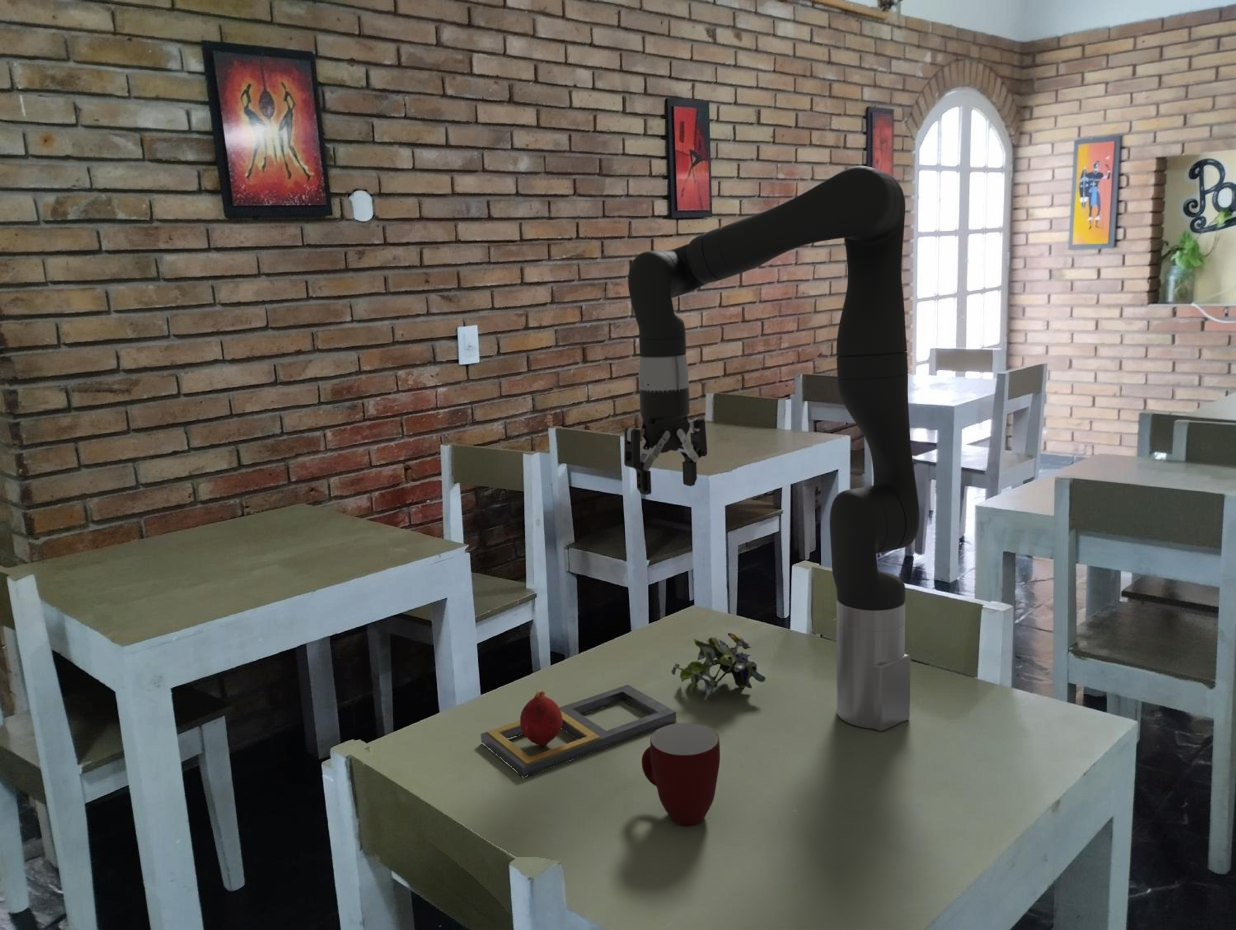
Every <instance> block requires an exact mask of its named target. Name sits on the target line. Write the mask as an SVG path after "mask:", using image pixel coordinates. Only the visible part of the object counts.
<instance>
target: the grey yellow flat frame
mask: <svg viewBox="0 0 1236 930" xmlns="http://www.w3.org/2000/svg"><path fill="white" fill-rule="evenodd" d="M621 702H624V703H626V704H628V705H629V706H632V707H633V708H635V709H637V710H639V711H640V712H642V713H643V714H645V715H646V716H644V717H641V718H638V719H635V720H633V721H630V722H627V723H625V724H622V725H619V726H616V727H613V728H611V729H608V730H605V728H602V727H601V726H600V725H598V724H596V723H595V722H593V721H592V720H590V719H588V718H587V716H584V715H585V713H586V714H588V712H589V713H591V712H590V711H592V712H594V710H595V711H598V710H600V708H601V709H603V708H602V707H604V708H606V707H609V706H612V705H615V704H618V703H621ZM558 707H559V706H558ZM559 709H560V711H561V714H562V719H563V723H562V727H561V728H562V729H563V731H564V730H565V731H567V732H568V733H569V734H568V733H567V732H566V733H567V734H568V735H570V736H571V735H572V736H571V737H573V736H574V737H573V739H574V738H576V739H575V740H574V741H573V740H572V741H571V742H568V743H565V744H563V745H559V746H558V747H555V748H551V749H549V750H546V751H542V752H540V753H538V754H534V755H532V756H530V755H529V754H528V753H526V752H525V751H524V750H522V749H521V748H520V747H518V746H517V745H516V744H515V743H513V742H512V741H510V740H508V739H507V738H511V737H514V736H519V735H521V734H523V732H522V730H521V726H520V720H517V721H514V722H511V723H508V724H505V725H503V726H499V727H497V728H493V729H490V730H487V731H485V732H482V733H480V741H481V742H482V743H484V744H485V745H486V746H487V747H488V748H490V749H491V750H492V751H493V752H494V753H495V754H497V755H498V756H499V757H501V758H502V759H503V760H504V761H505V762H507V763H508V764H509V765H510V766H512V768H514V769H515V770H516V771H517V772H518V773H519V774H520V775H522V776H523V777H525V776H527V775H531V774H534V773H536V774H538V773H537V772H539V773H541V772H540V771H542V772H544V771H546V770H545V769H547V770H549V769H548V768H550V767H553V766H555V767H557V766H556V765H558V766H560V765H559V764H561V763H563V764H565V763H564V762H566V761H569V760H571V761H573V760H572V759H574V760H576V759H575V758H577V757H579V758H581V757H580V756H582V757H584V756H583V755H585V756H587V755H589V754H588V753H590V754H592V753H591V752H593V753H595V752H594V751H596V752H597V750H598V751H600V750H599V749H601V750H603V749H602V748H604V747H606V748H608V747H607V746H609V747H611V746H610V745H612V746H614V745H616V743H617V744H619V743H623V742H624V740H625V741H627V740H630V739H633V738H635V737H638V736H641V735H643V734H646V733H649V732H651V731H654V730H655V731H656V730H658V729H660V728H662V727H664V726H667V725H671V724H674V723H676V722H677V711H676V710H675V709H672V708H670V707H669V706H667V705H666V704H663V703H661V702H659V701H657V700H656V699H654V698H652V697H650V696H649V695H647V694H645V693H643V692H642V691H640V690H638V689H636V688H635V687H633V686H630V685H629V684H626V685H623V686H620V687H617V688H613V689H611V690H608V691H604V692H602V693H598V694H595V695H593V696H590V697H587V698H584V699H580V700H578V701H575V702H572V703H569V704H566V705H563V706H560V707H559ZM597 709H598V710H597ZM582 714H583V715H582ZM562 729H561V730H562ZM565 731H564V732H565ZM519 737H520V736H519ZM577 739H578V740H577ZM613 744H614V745H613ZM604 749H605V748H604ZM495 754H494V755H495ZM586 754H587V755H586ZM577 759H578V758H577ZM569 762H570V761H569ZM566 763H567V762H566ZM561 765H562V764H561ZM553 768H554V767H553ZM550 769H551V768H550ZM543 770H544V771H543ZM518 773H517V774H518ZM519 774H518V775H519ZM520 775H519V776H520ZM534 775H535V774H534ZM531 776H532V775H531Z"/></svg>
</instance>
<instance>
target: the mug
mask: <svg viewBox="0 0 1236 930" xmlns="http://www.w3.org/2000/svg"><path fill="white" fill-rule="evenodd" d="M720 746H721V744H720V736H719V734H718V733H717V732H716V731H715V730H714V729H712V728H711V727H709V726H706V725H702V724H700V723H699V724H698V723H694V722H693V723H692V722H680V723H671V724H668V725H665V726H663V727H660V728H657V729H655V731H654V732H653V733H652V735H651V736H650V745H649V746H648V747H647V748H646V749H645V750H644V752H643V753H642V757H641V768H642V772H643V774H644V776H645V778H646V779H647V780H648V781H649V782H650V783H651V784H652V785H653V786H655V787H656V789H657V794H658V798H659V801H660V804H661V805H662V807H663V808H664V810H665V812H666V814H667V815H668V816H669V818H670V819H671V821H672V822H674V823H675V824H677V825H679V826H680V825H681V826H694V825H698V824H699V823H702V821H703V820H704V819H705V817H706V815H707V814H708V812H709V811H710V808H711V806H712V805H713V802H714V798H715V795H716V790H717V789H716V788H717V782H718V777H719V776H718V775H719V770H720V764H721V763H720V762H721V747H720Z"/></svg>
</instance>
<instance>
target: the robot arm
mask: <svg viewBox="0 0 1236 930" xmlns="http://www.w3.org/2000/svg"><path fill="white" fill-rule="evenodd" d="M905 219H906V197H905V193H904V190H903V188H902V186H901V184H900V182H898V181H897V179H896V178H895V177H893V176H892V175H890V174H889V173H887V172H885V171H882V170H880V169H877V168H874V167H870V166H865V165H856V166H851V167H849V168H845V169H843V170H842V171H840V172H839V173H837V174H835V175H833V176H831V177H829V178H828V179H825V180H824V181H822V182H821V183H818V184H817V185H815V186H814V187H812V188H810V189H808V190H807V191H805V192H803V193H801V194H799V195H797V196H796V197H793V198H791V199H789V200H788V201H786V202H783V203H781V204H779V205H777V206H775V207H772V208H769V209H767V210H765V211H761V212H760V213H757V214H753V215H750V216H748V217H745V218H743V219H739V220H737V221H734V222H731V223H727V224H726V225H722V226H721V227H717V228H715V229H712V230H709V231H707V232H704V233H701V234H700V235H697V236H696V237H693V238H692V239H691V240H690V242H689V243H687V244H685V245H682V246H680V247H676V248H673V249H669V250H646V251H643V252H641V253H639V254H638V255H636V257H634V259H633V260H632V262H631V264H630V267H629V271H628V275H627V276H628V277H627V285H628V293H629V297H630V302H631V306H632V309H633V313H634V318H635V320H636V322H637V323H636V324H637V327H638V339H639V340H638V342H639V344H638V345H639V346H638V347H639V349H638V350H639V364H638V365H639V366H638V379H639V380H638V384H639V389H638V390H639V408H640V409H639V411H640V413H639V414H640V417H641V418H642V423H641V424H642V425H641V427H639V428H636V427H635V428H633V427H628V426H627V427H625V429H624V444H623V445H624V446H623V448H624V450H623V452H624V454H623V458H624V459H623V461H624V462H623V464H624V466H625V467H628V468H631V469H634V470H635V472H636V489H637V491H638V492H639V493H640V494H641V495H645V496H648V495H652V475H651V474H652V473H651V470H650V468H651V467H652V465H653V462H654V461H655V460H657V458H659V456H660V454H664V453H668V452H671V451H674V452H675V451H676V452H678V453H679V454H680V456H681V457H682V459H683V460H684V461H682V463H681V464H682V484H683V485H684V486H687V487H693V486H694V487H695V485H696V482H697V480H698V471H697V469H698V468H697V463H698V461H699V459H700V458H702V457H706V456H707V455H708V442H707V431H706V421H705V419H703V418H699V417H690V418H689V419H688V416H689V414H690V409H691V408H690V386H689V380H690V379H689V366H688V361H687V339H686V338H687V337H686V325H685V321H684V320H683V319H682V317H680V316H678V315H676V314H675V309H674V305H673V298H677V297H679V296H683V295H685V294H689V293H690V292H693V291H696V290H697V289H700V288H702V287H704V286H706V285H708V284H709V283H714V282H718V281H721V280H724V279H728V278H731V277H734V276H736V275H740V274H742V273H745V272H748V271H751V270H753V269H755V268H756V269H757V268H758V267H760V266H762V265H764V264H766V263H769V262H770V261H772V260H773V259H775V258H777V257H778V256H780V255H783V254H785V253H788V252H789V251H790V252H791V251H792V250H794V249H797V248H800V247H804V246H807V245H812V244H815V243H820V242H826V241H833V240H839V239H844V245H845V246H844V247H845V252H846V253H845V255H846V265H847V267H846V268H847V284H846V292H845V297H844V303H843V305H842V309H841V315H840V319H839V324H838V330H837V335H836V336H837V337H836V347H835V348H836V350H835V351H836V353H835V356H836V373H837V374H836V377H837V390H838V393H839V396H840V398H841V401H842V403H843V405H844V406H845V409H846V410H847V412H848V413H849V415H850V417H851V418H852V419H853V421H854V423H855V424H856V425H857V428H858V429H859V430H860V432H861V433H862V435H863V438H864V439H865V441H866V443H867V445H868V448H869V449H868V450H869V453H870V456H871V462H872V475H873V485H869V486H868V485H867V486H862V487H856V488H850V489H846V490H843V491H841V492H838V494H837V495H836V496H835V497H834V499H833V501H832V503H831V507H830V513H829V537H830V555H831V572H832V577H833V580H834V584H835V588H836V714H837V716H838V717H839V718H840V720H842V721H844V722H846V723H847V724H849V725H853V726H856V727H860V728H866V729H872V730H873V729H874V730H877V731H879V732H882V731H884V730H885V731H886V730H887V729H889V728H890V729H891V728H893V727H894V726H896V725H899V724H901V723H904V722H906V721H908V720H909V719H910V715H911V713H910V710H911V706H910V705H911V656H910V655H909V654H908V653H905V637H906V635H905V634H906V633H905V632H906V631H905V629H906V628H905V627H906V626H905V625H906V623H905V622H906V585H905V581H904V580H903V579H901V577H899V576H897V575H895V574H894V573H890V572H887V571H883V570H879V567H878V556H877V554H881V553H887V552H890V551H892V552H893V551H895V550H900V549H905V548H906V547H908V546H910V545H911V544H912V543H913V542H915V539H916V538H917V535H918V532H919V527H920V505H919V503H920V502H919V497H918V488H917V481H916V474H915V473H916V472H915V465H914V459H913V451H912V442H911V441H912V440H911V425H910V413H909V411H910V410H909V409H910V407H909V363H908V344H907V335H906V334H907V333H906V332H907V331H906V329H907V327H906V313H905V311H906V310H905V302H904V301H905V300H904V299H905V298H904V289H903V280H902V275H903V274H902V272H903V271H902V265H903V264H902V263H903V248H904V235H905V234H904V233H905V223H906V222H905ZM688 432H689V433H690V435H689V436H690V440H689V438H688V437H687V435H688ZM643 440H644V441H643ZM642 441H643V442H642ZM641 442H642V444H641Z"/></svg>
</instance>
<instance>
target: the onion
mask: <svg viewBox="0 0 1236 930" xmlns="http://www.w3.org/2000/svg"><path fill="white" fill-rule="evenodd" d="M545 694H546V692H545V691H544V690H542V689H539V690H538V691H536V693H535V695H534V697H533V698H532V699H529V701H528V702H527V703H526V704H525V705H524V707H523V709H522V711H521V713H520V719H519V721H520V726H521V730H522V732H523V734H524V735H523V736H524V737H525V738H526V739H528V741H530V743H532V744H535V745H537V746H540V747H546V746H547V745H548V744H549V743H551V742H552V741H553V740H555V738H556V737H558V735H559V734H560V732H561V730H562V729H561V727H562V723H563V719H562V714H561V711H560V709H559V706H558V704H557V703H556V702H555V701H554V700H553V699H551V698H549V697H547V696H546V695H545ZM545 745H546V746H545Z"/></svg>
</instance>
